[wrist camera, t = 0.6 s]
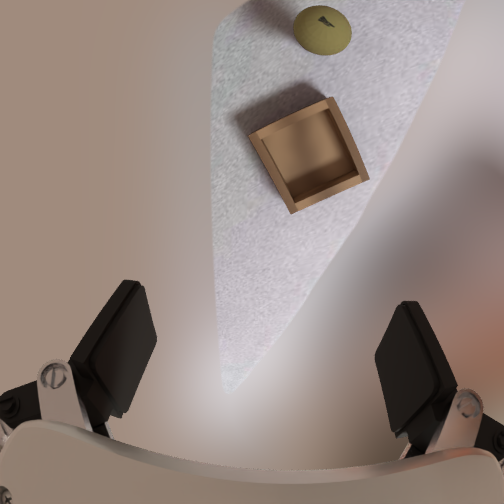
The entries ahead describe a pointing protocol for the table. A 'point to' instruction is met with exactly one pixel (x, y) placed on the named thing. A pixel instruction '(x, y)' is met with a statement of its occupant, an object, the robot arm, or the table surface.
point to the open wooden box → (310, 154)
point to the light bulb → (322, 30)
